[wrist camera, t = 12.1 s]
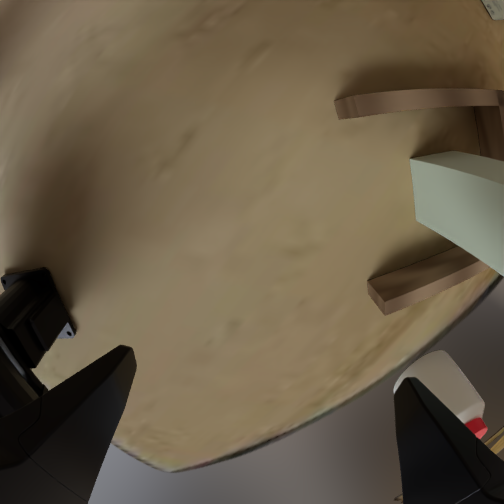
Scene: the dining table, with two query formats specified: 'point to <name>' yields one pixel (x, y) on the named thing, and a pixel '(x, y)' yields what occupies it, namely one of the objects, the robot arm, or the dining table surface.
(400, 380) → the pill bottle
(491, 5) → the skincare box
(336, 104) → the box
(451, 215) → the block
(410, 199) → the dining table surface
